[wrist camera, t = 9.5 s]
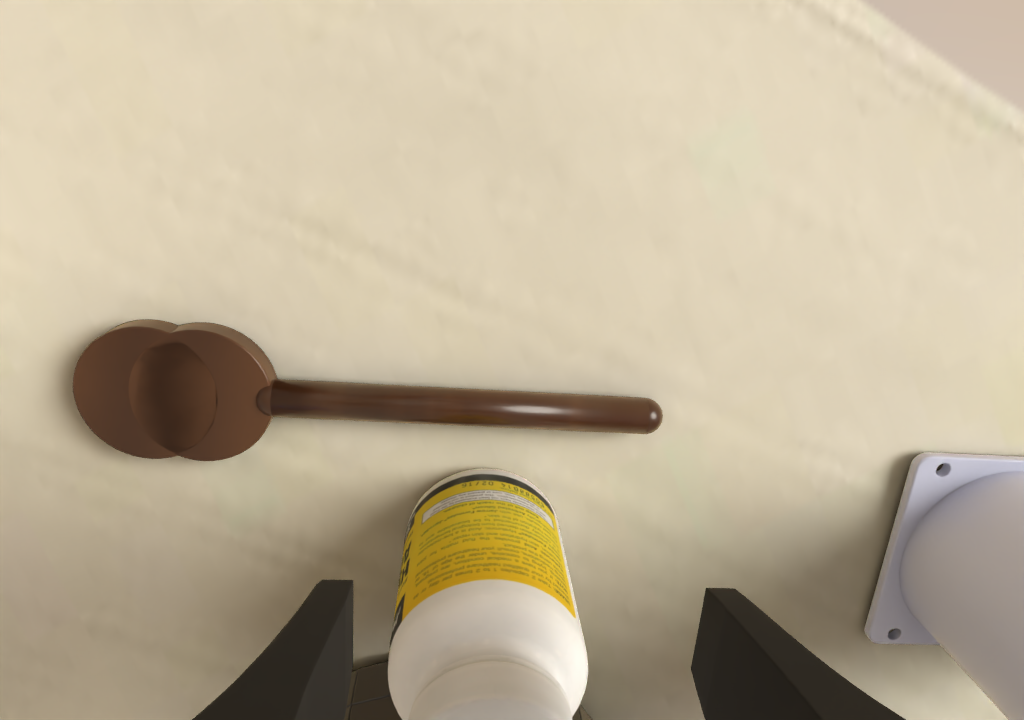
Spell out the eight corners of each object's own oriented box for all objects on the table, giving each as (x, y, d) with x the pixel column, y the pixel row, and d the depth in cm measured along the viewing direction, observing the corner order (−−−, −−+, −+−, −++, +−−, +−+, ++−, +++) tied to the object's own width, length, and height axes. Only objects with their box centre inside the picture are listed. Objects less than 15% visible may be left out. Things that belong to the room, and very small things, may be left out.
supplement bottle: (385, 486, 25) (340, 705, 16) (537, 445, 25) (583, 642, 16) (430, 611, 27) (413, 875, 17) (572, 574, 27) (632, 820, 17)
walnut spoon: (666, 348, 24) (677, 360, 23) (648, 468, 25) (656, 484, 24) (79, 314, 22) (58, 325, 21) (93, 444, 24) (75, 460, 23)
